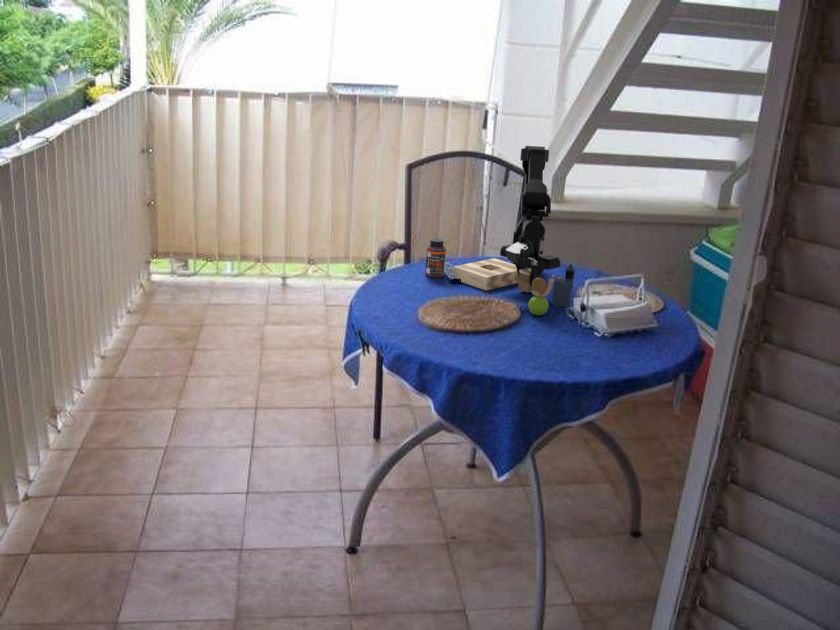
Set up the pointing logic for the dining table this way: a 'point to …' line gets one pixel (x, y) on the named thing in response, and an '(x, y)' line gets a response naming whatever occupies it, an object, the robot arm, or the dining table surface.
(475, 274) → the socket board
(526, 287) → the peg
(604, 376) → the dining table surface
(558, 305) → the vaping device
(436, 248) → the supplement bottle
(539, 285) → the snail figurine
